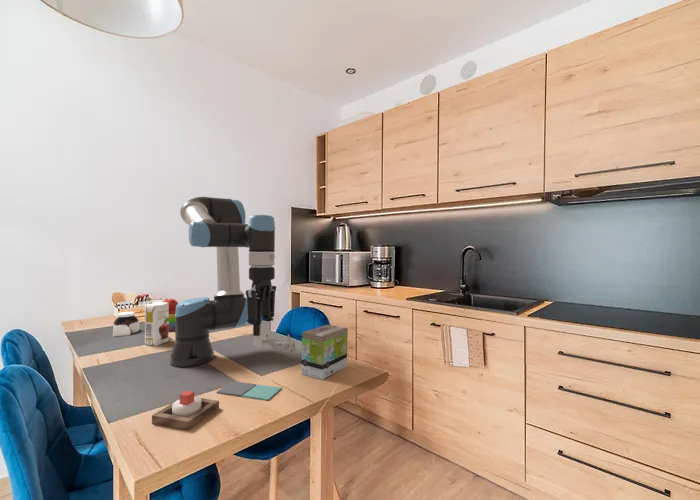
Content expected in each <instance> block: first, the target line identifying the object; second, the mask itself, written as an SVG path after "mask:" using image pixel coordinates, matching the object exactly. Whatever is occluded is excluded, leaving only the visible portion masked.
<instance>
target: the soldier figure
mask: <svg viewBox="0 0 700 500" xmlns="http://www.w3.org/2000/svg"><path fill="white" fill-rule="evenodd" d="M287 338H288V339H287V340H288V342H287V341H285V340H283V341H280V340H279V338H278V337H276V336H275V337H274V336H273V337H270V338H268V334H266V340H263V341H262V342H263V344H268V345H269V346H271V348H273V349H274V350H280V351H281V350H282V351H285V350H286V351H288V353H291V352H295V351H296V350H297V348H296V344H295V342H294V341H292V340H291V335H290V334H288V333H287Z"/></svg>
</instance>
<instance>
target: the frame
mask: <svg viewBox="0 0 700 500" xmlns="http://www.w3.org/2000/svg"><path fill="white" fill-rule="evenodd" d="M200 398H201V409H200V410H199V411H197V412H196V413H194V414H193V415H191V416H190V417H188V418H187V417H181V416H175V415H172V404H173V403H174V402H172V403H171V404H169V405H167V406H166V407H164V408H162V409H161V410H159V411H157V412H155V413H153V414H152V415H151V424H152V425H153V424H155V425H159V426H165V427H169V428H175V429H180V430H186V431H189V430H191V429H192V428H194V427H195V426H196V425H197V424H199V423H200V422H202V421H204V420H205V419H206V418H207V417H209V416H210V415H211V414H213V413H214V412H215V411H217V410H218V409H220V400H217V399H210V398H204V397H200Z"/></svg>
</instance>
